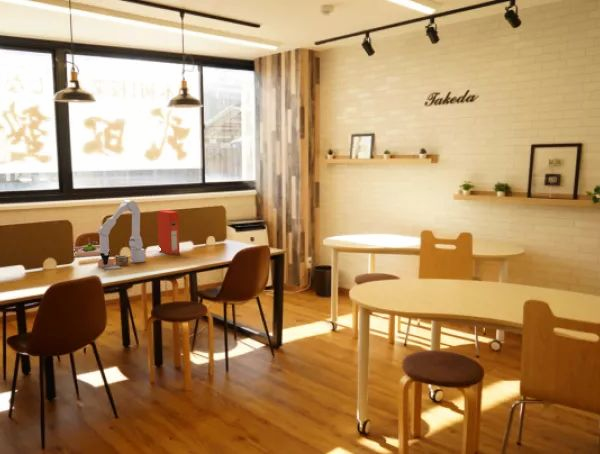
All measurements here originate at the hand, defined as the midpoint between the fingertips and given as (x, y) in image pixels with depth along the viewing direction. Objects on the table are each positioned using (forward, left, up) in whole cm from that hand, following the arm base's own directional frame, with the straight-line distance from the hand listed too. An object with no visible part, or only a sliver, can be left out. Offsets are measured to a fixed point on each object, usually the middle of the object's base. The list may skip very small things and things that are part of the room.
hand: (105, 263), depth 365 cm
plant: (+3, -53, -2) cm, 53 cm away
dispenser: (-11, 0, -1) cm, 11 cm away
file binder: (-51, -28, -2) cm, 58 cm away
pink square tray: (+3, -53, -1) cm, 53 cm away
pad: (-3, +8, -1) cm, 9 cm away
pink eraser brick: (0, 0, -2) cm, 2 cm away
